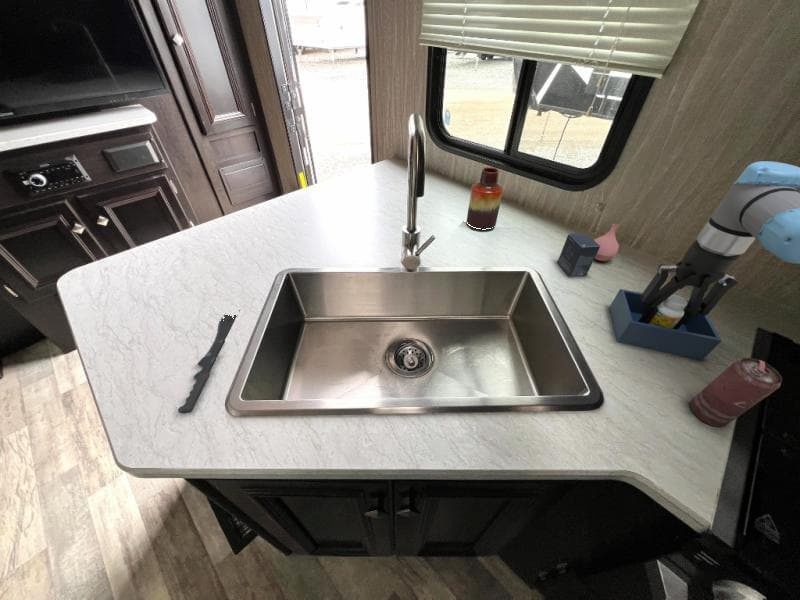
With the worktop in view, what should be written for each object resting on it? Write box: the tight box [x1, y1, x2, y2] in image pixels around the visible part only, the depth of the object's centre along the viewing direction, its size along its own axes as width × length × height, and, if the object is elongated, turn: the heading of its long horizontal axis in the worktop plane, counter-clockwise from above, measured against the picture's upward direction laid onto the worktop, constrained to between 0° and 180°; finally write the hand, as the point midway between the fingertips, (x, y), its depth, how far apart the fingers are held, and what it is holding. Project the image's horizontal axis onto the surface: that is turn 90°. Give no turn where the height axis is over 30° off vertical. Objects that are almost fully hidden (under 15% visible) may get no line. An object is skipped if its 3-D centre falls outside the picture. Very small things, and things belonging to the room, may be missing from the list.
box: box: [557, 232, 600, 278], centre depth 95 cm, size 8×6×11 cm
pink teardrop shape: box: [593, 223, 620, 262], centre depth 99 cm, size 8×8×12 cm
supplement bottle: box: [649, 294, 688, 329], centre depth 74 cm, size 5×5×10 cm
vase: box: [465, 166, 504, 233], centre depth 113 cm, size 11×11×20 cm
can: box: [690, 357, 783, 427], centre depth 58 cm, size 6×6×14 cm
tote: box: [608, 288, 723, 361], centre depth 76 cm, size 18×13×7 cm
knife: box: [177, 309, 241, 413], centre depth 74 cm, size 32×4×1 cm, turn 2°
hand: (655, 328), depth 78 cm, fingers closed on supplement bottle, 5 cm apart
